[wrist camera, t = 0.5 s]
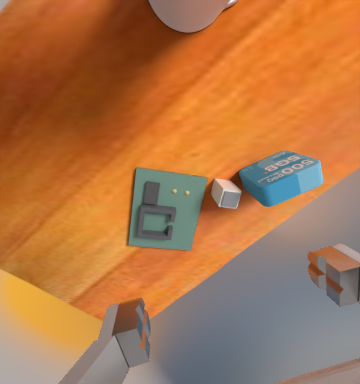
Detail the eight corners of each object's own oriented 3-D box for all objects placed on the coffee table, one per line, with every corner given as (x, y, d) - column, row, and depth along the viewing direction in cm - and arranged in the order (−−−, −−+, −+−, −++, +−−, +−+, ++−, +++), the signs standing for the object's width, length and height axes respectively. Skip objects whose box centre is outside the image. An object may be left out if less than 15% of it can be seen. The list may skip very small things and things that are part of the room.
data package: (284, 149, 46) (325, 161, 35) (288, 166, 47) (328, 182, 36) (236, 171, 46) (260, 189, 35) (241, 187, 48) (266, 209, 37)
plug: (214, 178, 47) (224, 189, 40) (232, 180, 47) (244, 192, 40) (210, 193, 48) (219, 207, 41) (228, 196, 49) (239, 209, 42)
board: (136, 167, 44) (135, 171, 41) (206, 177, 46) (209, 181, 43) (129, 242, 51) (127, 250, 48) (189, 247, 53) (191, 255, 50)
